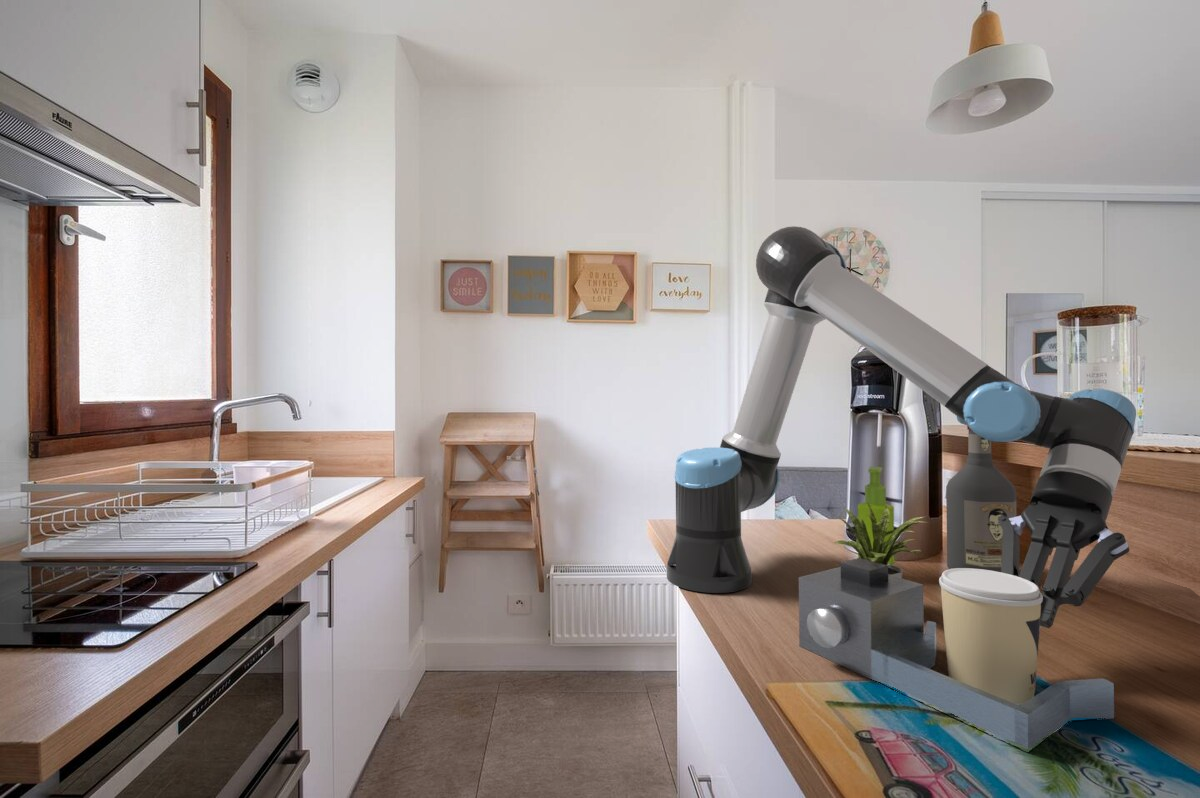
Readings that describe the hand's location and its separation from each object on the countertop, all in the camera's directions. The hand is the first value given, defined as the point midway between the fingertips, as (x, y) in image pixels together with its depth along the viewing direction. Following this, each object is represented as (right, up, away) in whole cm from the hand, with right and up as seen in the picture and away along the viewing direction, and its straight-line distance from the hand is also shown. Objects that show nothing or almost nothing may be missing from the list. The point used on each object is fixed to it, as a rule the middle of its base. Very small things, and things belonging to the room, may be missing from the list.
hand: (1020, 644), depth 61 cm
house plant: (-5, -4, +20) cm, 21 cm away
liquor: (+22, -4, +37) cm, 43 cm away
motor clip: (-10, -4, 0) cm, 11 cm away
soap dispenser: (+2, -5, +37) cm, 37 cm away
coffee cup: (-5, -4, -2) cm, 7 cm away
